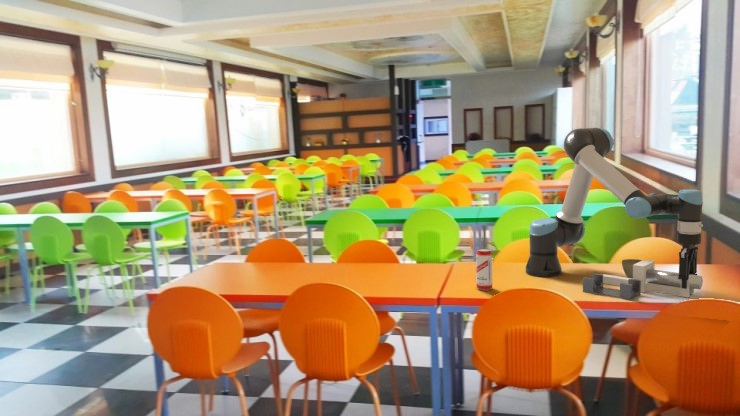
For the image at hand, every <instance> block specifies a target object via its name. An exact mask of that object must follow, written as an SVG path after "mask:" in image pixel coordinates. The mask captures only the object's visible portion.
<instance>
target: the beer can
mask: <svg viewBox="0 0 740 416" xmlns="http://www.w3.org/2000/svg"><path fill="white" fill-rule="evenodd" d="M475 257H476V258H475V262H476V263H475V265H476V266H475V268H476V271H475V272H476V274H475V275H476V276H475V277H476V279H475V280H476V288H477V289H478V290H479V291H491V290H492V288H493V253H492V252H491V249H490V248H478V249H477V251H476V254H475Z"/></svg>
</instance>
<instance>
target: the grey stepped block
mask: <svg viewBox="0 0 740 416" xmlns="http://www.w3.org/2000/svg"><path fill="white" fill-rule="evenodd" d="M641 260H642V261H640V262H638V263H636V264H634V265H633V279H636V280H641V291H640V293H643V294H644V293H645V291H646V292H647V291H648V292H649V291H650V292H655V293H662V294H668V295H674V296H679V297H681V296H680V288H681V287H678V286H672V285H665V284H658V283H651V282H647V281H646V271H647V270H648V269H652V270H656V267H655V265H656V262H655V260H650V259H649V260H648V259H641ZM628 279H632V278H628V277H627V276H626V277H624V276H619V275H610V274H604V273H603V285H604V284H607V285H610V286H611V285H612V286H617V287H620V283H625V284H628Z"/></svg>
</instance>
